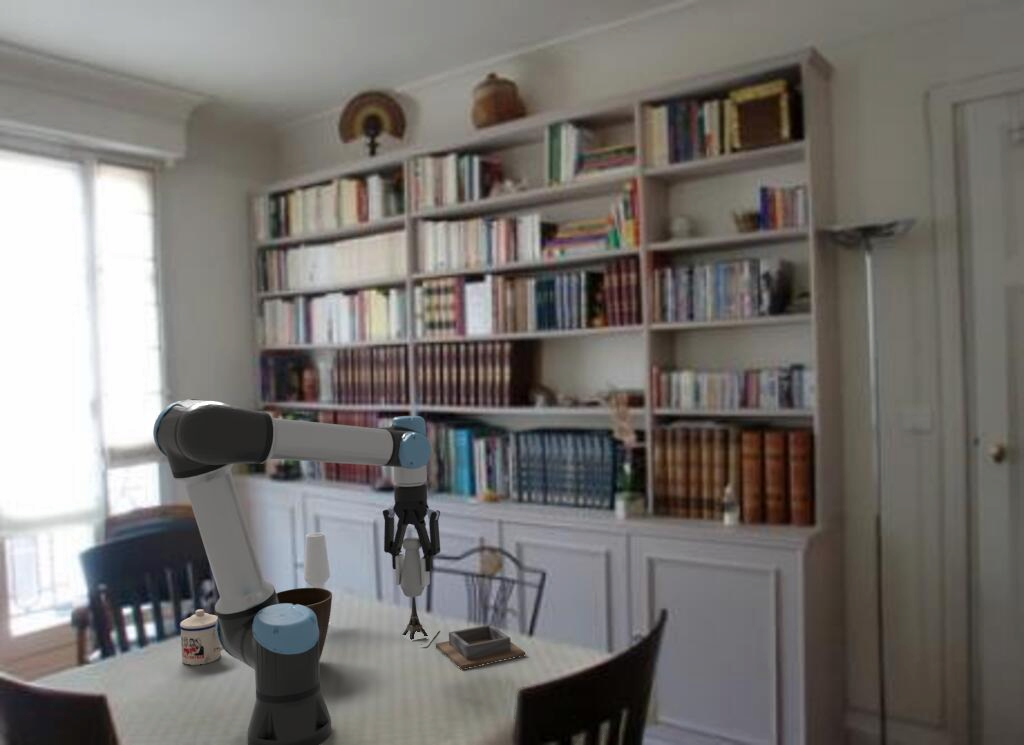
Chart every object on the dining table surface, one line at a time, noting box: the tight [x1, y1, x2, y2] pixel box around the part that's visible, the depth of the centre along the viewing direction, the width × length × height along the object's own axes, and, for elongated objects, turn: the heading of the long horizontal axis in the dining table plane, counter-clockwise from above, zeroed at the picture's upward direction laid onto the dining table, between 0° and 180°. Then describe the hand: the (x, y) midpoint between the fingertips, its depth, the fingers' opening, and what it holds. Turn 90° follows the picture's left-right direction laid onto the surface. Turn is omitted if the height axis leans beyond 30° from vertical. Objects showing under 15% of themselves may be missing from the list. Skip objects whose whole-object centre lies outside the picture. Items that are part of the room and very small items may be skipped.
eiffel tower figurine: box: [401, 597, 428, 640], centre depth 204 cm, size 15×10×13 cm
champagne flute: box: [303, 532, 332, 627], centre depth 215 cm, size 7×7×24 cm
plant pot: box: [276, 587, 333, 662], centre depth 187 cm, size 15×15×16 cm
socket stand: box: [435, 623, 526, 670], centre depth 192 cm, size 16×16×4 cm
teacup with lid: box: [179, 609, 224, 666], centre depth 193 cm, size 12×9×12 cm
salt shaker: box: [400, 536, 426, 598], centre depth 187 cm, size 6×6×13 cm
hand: (412, 584), depth 187 cm, fingers closed on salt shaker, 6 cm apart
